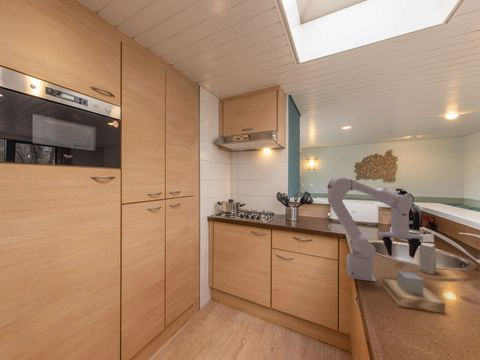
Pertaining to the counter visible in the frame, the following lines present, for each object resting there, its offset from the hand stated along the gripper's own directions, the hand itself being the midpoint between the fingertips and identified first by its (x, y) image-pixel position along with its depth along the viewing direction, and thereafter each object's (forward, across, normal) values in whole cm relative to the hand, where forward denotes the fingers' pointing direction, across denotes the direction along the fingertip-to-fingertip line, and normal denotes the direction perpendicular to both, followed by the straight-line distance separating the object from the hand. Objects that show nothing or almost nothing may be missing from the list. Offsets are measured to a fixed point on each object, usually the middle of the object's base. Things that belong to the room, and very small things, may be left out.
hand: (400, 255), depth 80 cm
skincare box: (+10, +15, +12) cm, 21 cm away
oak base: (+9, -4, -16) cm, 19 cm away
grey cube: (+6, -4, -16) cm, 17 cm away
